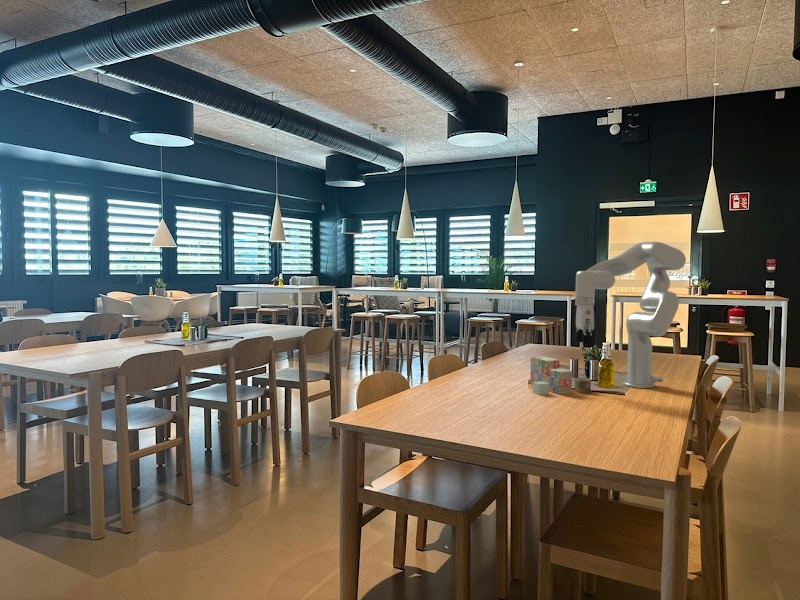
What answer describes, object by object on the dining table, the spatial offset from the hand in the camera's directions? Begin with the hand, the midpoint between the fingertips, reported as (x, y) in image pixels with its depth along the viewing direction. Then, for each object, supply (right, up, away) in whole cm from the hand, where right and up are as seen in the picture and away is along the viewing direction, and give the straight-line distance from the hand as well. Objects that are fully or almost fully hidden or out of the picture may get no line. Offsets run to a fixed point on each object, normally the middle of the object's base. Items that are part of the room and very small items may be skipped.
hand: (583, 343), depth 229 cm
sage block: (-18, -20, -3) cm, 27 cm away
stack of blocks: (-12, -20, +6) cm, 24 cm away
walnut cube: (0, -20, +1) cm, 20 cm away
